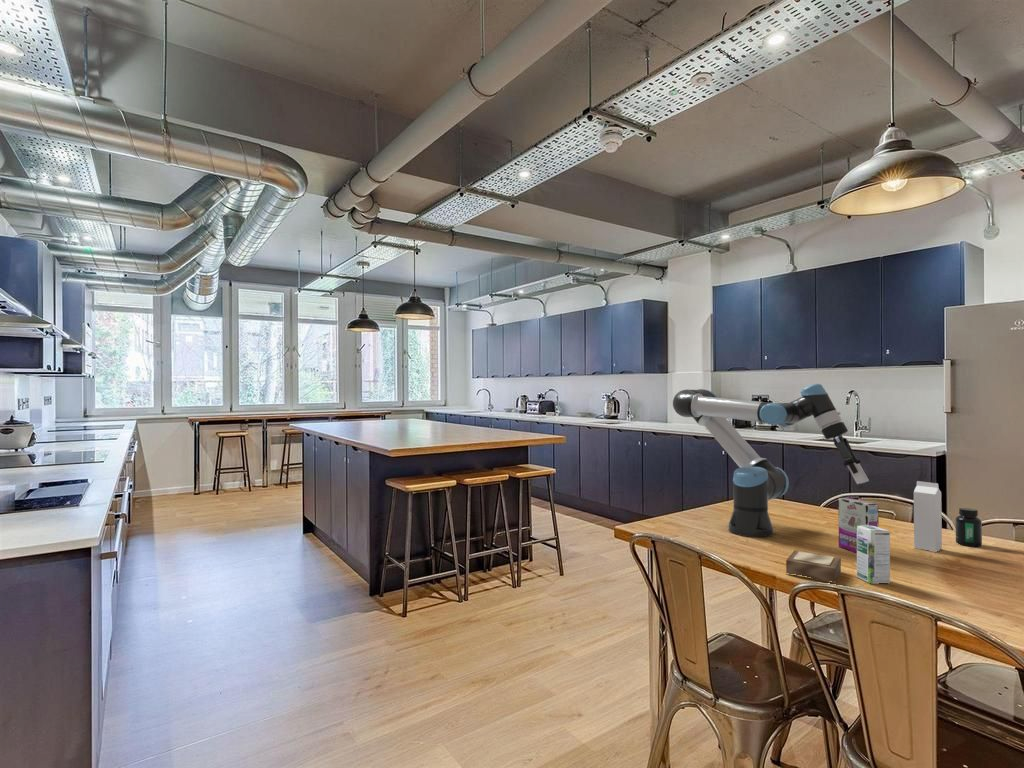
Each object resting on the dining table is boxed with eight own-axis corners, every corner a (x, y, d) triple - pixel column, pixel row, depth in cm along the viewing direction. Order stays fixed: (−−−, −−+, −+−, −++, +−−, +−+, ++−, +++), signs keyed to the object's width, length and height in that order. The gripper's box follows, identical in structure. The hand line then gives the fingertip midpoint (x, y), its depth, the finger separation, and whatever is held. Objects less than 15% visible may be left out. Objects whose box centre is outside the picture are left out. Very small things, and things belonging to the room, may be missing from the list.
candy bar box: (880, 555, 172) (879, 503, 172) (867, 556, 170) (866, 504, 171) (849, 546, 182) (849, 497, 183) (837, 547, 181) (837, 497, 181)
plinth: (786, 574, 154) (786, 559, 154) (794, 563, 163) (794, 549, 163) (835, 583, 147) (835, 567, 147) (840, 571, 156) (840, 556, 156)
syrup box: (855, 577, 151) (855, 525, 152) (875, 576, 152) (875, 524, 152) (870, 584, 146) (870, 530, 146) (891, 584, 146) (890, 530, 146)
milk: (936, 553, 175) (935, 484, 175) (913, 548, 180) (913, 482, 180) (942, 549, 178) (941, 482, 178) (920, 545, 183) (919, 480, 183)
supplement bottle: (974, 548, 180) (973, 512, 180) (951, 543, 186) (950, 508, 186) (986, 546, 182) (986, 510, 182) (963, 541, 189) (963, 506, 189)
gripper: (838, 418, 180) (872, 478, 172) (846, 423, 200) (877, 478, 192) (815, 427, 184) (847, 487, 176) (825, 431, 203) (855, 485, 195)
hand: (863, 482), depth 184 cm, fingers open, 13 cm apart
